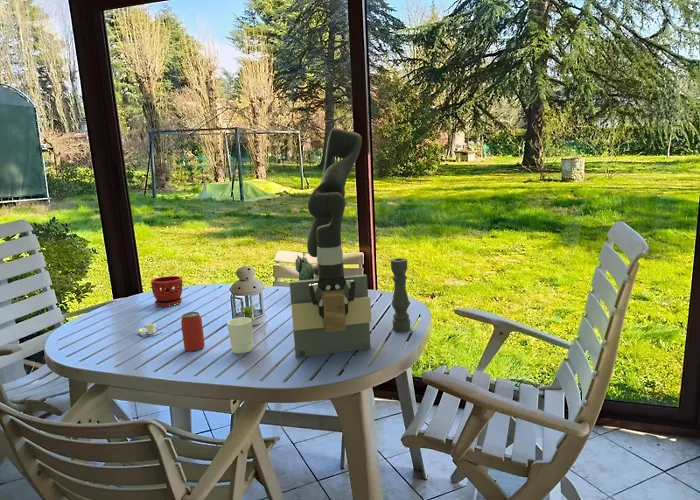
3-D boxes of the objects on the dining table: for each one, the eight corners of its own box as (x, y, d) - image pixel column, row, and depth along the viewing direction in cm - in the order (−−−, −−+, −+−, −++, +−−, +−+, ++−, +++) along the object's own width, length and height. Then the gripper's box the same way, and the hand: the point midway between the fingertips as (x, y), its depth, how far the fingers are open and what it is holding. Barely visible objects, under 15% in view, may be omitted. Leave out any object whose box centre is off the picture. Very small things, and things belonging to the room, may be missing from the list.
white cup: (242, 356, 156) (239, 326, 154) (225, 352, 160) (222, 323, 158) (259, 347, 163) (256, 318, 161) (242, 343, 167) (239, 315, 165)
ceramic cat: (296, 292, 228) (293, 250, 225) (309, 290, 231) (306, 249, 227) (309, 303, 210) (306, 257, 207) (324, 300, 213) (320, 255, 209)
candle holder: (409, 332, 169) (407, 261, 164) (391, 331, 170) (388, 261, 165) (411, 326, 175) (408, 257, 170) (393, 325, 176) (391, 258, 171)
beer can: (187, 345, 168) (183, 312, 166) (206, 343, 169) (202, 310, 166) (182, 352, 162) (178, 318, 160) (202, 351, 162) (198, 316, 160)
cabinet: (322, 322, 151) (319, 284, 149) (341, 320, 152) (339, 283, 150) (326, 333, 141) (323, 293, 139) (346, 331, 142) (344, 291, 140)
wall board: (294, 347, 160) (288, 277, 156) (365, 339, 164) (362, 270, 160) (296, 361, 149) (290, 285, 145) (372, 352, 153) (369, 278, 148)
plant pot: (178, 307, 215) (175, 281, 213) (149, 309, 215) (145, 282, 213) (188, 299, 228) (185, 274, 225) (161, 300, 228) (157, 275, 226)
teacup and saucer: (135, 334, 183) (133, 324, 183) (155, 328, 189) (154, 318, 188) (145, 339, 177) (144, 329, 177) (166, 333, 183) (164, 323, 182)
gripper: (306, 266, 137) (311, 322, 140) (356, 261, 140) (359, 317, 143) (304, 260, 145) (308, 315, 148) (352, 256, 147) (355, 310, 150)
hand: (333, 316), depth 145 cm, fingers closed on cabinet, 6 cm apart
